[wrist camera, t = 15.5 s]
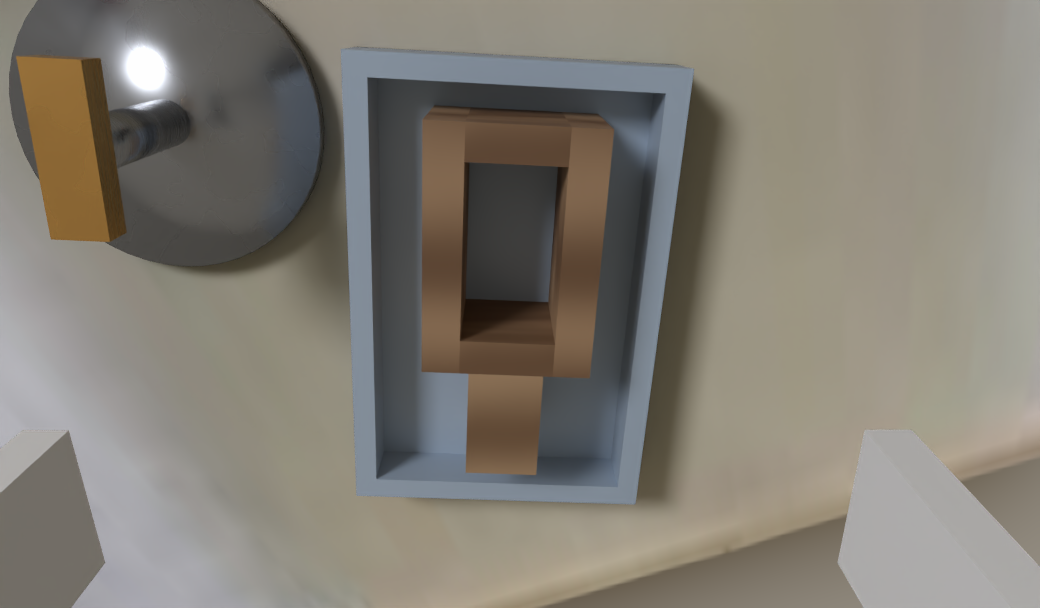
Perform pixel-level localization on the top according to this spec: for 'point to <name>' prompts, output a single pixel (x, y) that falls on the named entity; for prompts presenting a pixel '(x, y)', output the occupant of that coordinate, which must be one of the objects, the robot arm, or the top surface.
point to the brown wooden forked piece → (502, 323)
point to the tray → (504, 267)
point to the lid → (166, 124)
